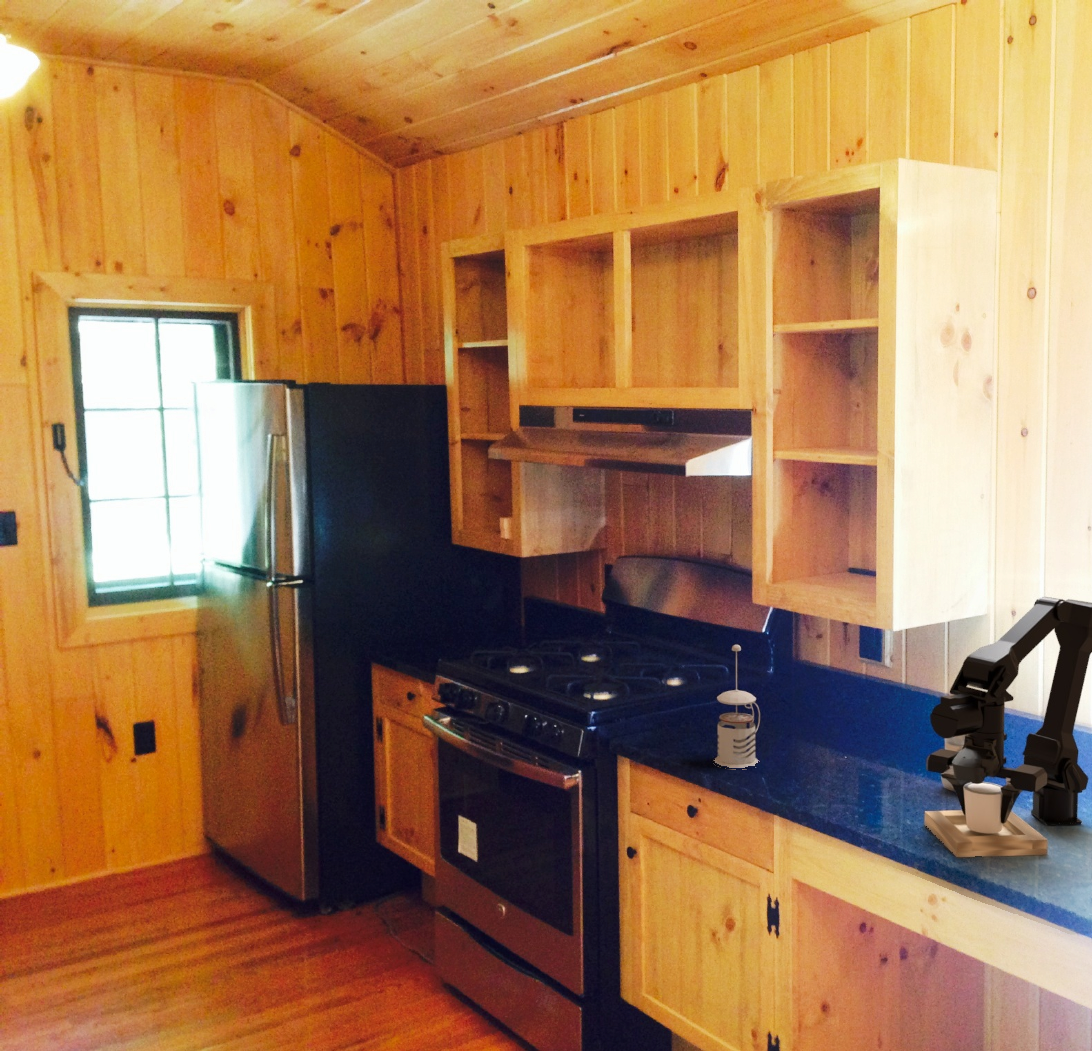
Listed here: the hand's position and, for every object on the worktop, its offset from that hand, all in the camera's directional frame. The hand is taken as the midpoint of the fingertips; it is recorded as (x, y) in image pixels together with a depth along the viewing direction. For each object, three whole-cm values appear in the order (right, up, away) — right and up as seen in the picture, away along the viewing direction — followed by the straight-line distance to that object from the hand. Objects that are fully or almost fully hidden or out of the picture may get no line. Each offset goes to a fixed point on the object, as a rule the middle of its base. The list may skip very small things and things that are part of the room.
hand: (984, 818), depth 200 cm
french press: (-34, 0, +47) cm, 58 cm away
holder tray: (0, -4, 0) cm, 4 cm away
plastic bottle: (+5, -1, +26) cm, 26 cm away
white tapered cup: (0, -2, 0) cm, 2 cm away
